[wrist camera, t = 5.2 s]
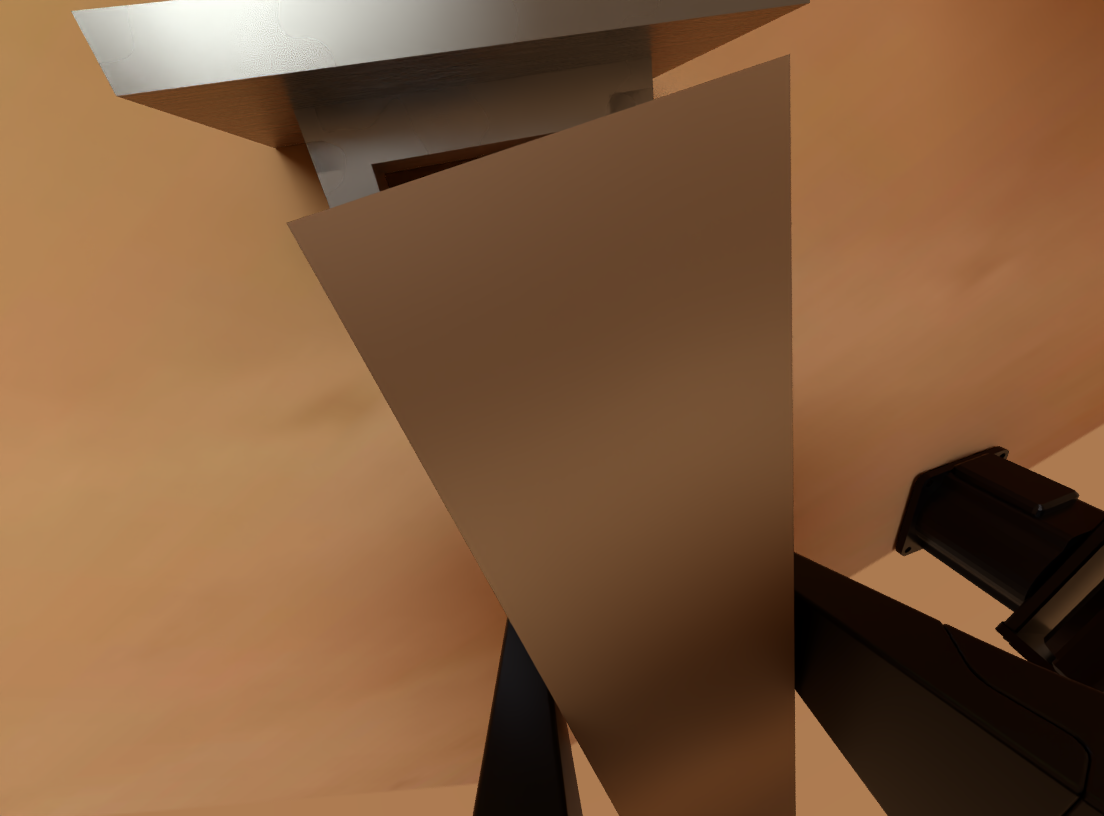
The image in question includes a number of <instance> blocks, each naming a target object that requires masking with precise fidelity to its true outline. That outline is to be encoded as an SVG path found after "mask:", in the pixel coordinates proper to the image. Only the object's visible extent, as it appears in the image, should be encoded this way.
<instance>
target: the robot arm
mask: <svg viewBox="0 0 1104 816" xmlns="http://www.w3.org/2000/svg"><path fill="white" fill-rule="evenodd" d="M1008 453H1009V451H1008V450H1007V449H1005V448H1002V447H1000V446H998V447H995V448H992V449H989V450H986V451H984V452H981V453H978V454H976V455H973V456H970V457H967V458H965V459H962V460H959V461H956V462H954V463H951V464H948V465H946V466H943V467H940V468H937V469H935V470H932V471H929V472H926V473H924V474H922V475H921V476H920V477H919V478H918V479H917V481H916V483H915V487H914V490H913V493H912V496H911V500H910V503H909V506H908V510H907V513H906V516H905V519H904V523H903V526H902V529H901V533H900V536H899V539H898V543H897V546H896V551H897V552H898V553H900V554H901V555H903V556H906V555H908V554H911V553H913V552H916V551H918V550H921V549H925V550H926V551H927V552H929V553H930V554H932V555H933V556H935V557H936V558H937V559H939V560H940V561H942V562H943V563H945V564H946V565H948V566H949V567H950V568H952V569H953V570H955V571H956V572H957V573H959V574H960V575H962V576H963V577H965V578H966V579H967V580H969V581H971V582H972V583H973V584H975V585H976V586H978V587H979V588H980V589H982V590H983V591H985V592H986V593H988V594H989V595H990V596H992V597H993V598H995V599H996V600H998V601H999V602H1000V603H1002V604H1003V605H1005V606H1006V607H1008V608H1009V609H1011V610H1012V611H1014V613H1013V614H1012V615H1011V616H1010V617H1009V618H1008V619H1007V620H1006V621H1005V622H1001V623H1000V624H999V625H998V626H997V627H996V628H995V629H996V630H997V632H999V633H1000V634H1001V635H1002V636H1003V638H1004V639H1005V640H1006V641H1008V642H1009V644H1010V645H1011V646H1012V647H1013V648H1014V649H1015V650H1016V651H1017V652H1018V653H1019V654H1021V655H1022V656H1023V657H1024V658H1025V659H1026V660H1027V661H1026V660H1024V659H1022V658H1019V657H1017V656H1015V655H1013V654H1010V653H1008V652H1006V651H1004V650H1002V649H999V648H997V647H995V646H993V645H991V644H988V643H986V642H984V641H981V640H979V639H977V638H975V637H973V636H971V635H969V634H967V633H965V632H962V631H960V630H958V629H956V628H954V627H952V626H950V625H947V624H944V625H943V624H942V623H941V622H940V621H939V620H937V619H934V618H932V617H930V616H928V615H926V614H924V613H922V612H920V611H918V610H916V609H913V608H911V607H909V606H907V605H905V604H903V603H901V602H899V601H897V600H894V599H892V598H890V597H888V596H886V595H884V594H882V593H880V592H877V591H875V590H873V589H871V588H869V587H867V586H865V585H863V584H861V583H858V582H856V581H854V580H852V579H850V578H848V577H846V576H844V575H842V574H839V573H837V572H835V571H833V570H831V569H829V568H827V567H825V566H823V565H820V564H818V563H816V562H814V561H812V560H810V559H808V558H806V557H804V556H801V555H799V554H797V553H795V552H794V669H795V690H796V691H797V692H798V694H799V695H800V697H801V698H802V699H803V701H804V702H805V704H806V705H807V706H808V708H809V709H810V710H811V712H812V713H813V714H814V716H815V717H816V718H817V720H818V721H819V723H820V724H821V725H822V727H823V728H824V729H825V731H826V732H827V734H828V735H829V736H830V738H831V739H832V740H833V742H834V743H835V744H836V746H837V747H838V749H839V750H840V751H841V753H842V754H843V755H844V757H845V758H846V759H847V761H848V762H849V764H850V765H851V766H852V768H853V769H854V770H855V772H856V773H857V774H858V776H859V777H860V779H861V780H862V781H863V782H864V784H865V785H866V786H867V788H868V789H869V791H870V792H871V794H872V795H873V796H874V797H875V799H876V800H877V802H878V803H879V804H880V806H881V807H882V808H883V810H884V811H885V813H886V814H887V815H888V816H1104V511H1102V510H1100V509H1098V508H1096V507H1094V506H1092V505H1089V504H1087V503H1085V502H1083V501H1081V500H1079V499H1078V497H1079V494H1078V493H1077V492H1076V491H1075V490H1073V489H1071V488H1069V487H1066V486H1064V485H1062V484H1060V483H1057V482H1055V481H1053V480H1051V479H1049V478H1046V477H1044V476H1042V475H1040V474H1037V473H1035V472H1033V471H1031V470H1029V469H1026V468H1024V467H1022V466H1020V465H1017V464H1015V463H1013V462H1011V461H1008V460H1006V459H1007V456H1008ZM473 816H583V815H582V809H581V803H580V798H579V792H578V786H577V780H576V774H575V769H574V763H573V757H572V751H571V745H570V739H569V734H568V728H567V723H566V720H565V718H564V716H563V715H562V713H561V711H560V709H559V707H558V706H557V704H556V702H555V700H554V698H553V697H552V695H551V693H550V691H549V690H548V688H547V686H546V684H545V682H544V681H543V679H542V677H541V675H540V674H539V672H538V670H537V668H536V666H535V665H534V663H533V661H532V659H531V658H530V656H529V654H528V652H527V650H526V649H525V647H524V645H523V643H522V641H521V640H520V638H519V636H518V634H517V633H516V631H515V629H514V627H513V625H512V624H511V622H510V620H509V618H508V617H507V622H506V628H505V633H504V639H503V645H502V650H501V656H500V662H499V668H498V673H497V679H496V685H495V691H494V696H493V702H492V708H491V714H490V719H489V725H488V731H487V737H486V742H485V748H484V754H483V760H482V765H481V771H480V777H479V783H478V788H477V794H476V800H475V806H474V811H473Z"/></svg>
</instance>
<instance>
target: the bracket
mask: <svg viewBox="0 0 1104 816" xmlns="http://www.w3.org/2000/svg"><path fill="white" fill-rule="evenodd" d="M808 3H810V0H174V1H164V2H155V3H145V4H135V5H126V6H116V7H106V8H97V9H87V10H77V11H71V12H72V13H73V15H74V17H75V19H76V21H77V23H78V25H79V27H80V29H81V30H82V32H83V34H84V36H85V38H86V40H87V42H88V44H89V46H90V47H91V49H92V51H93V53H94V55H95V57H96V59H97V61H98V62H99V64H100V66H101V68H102V70H103V72H104V74H105V76H106V78H107V79H108V81H109V83H110V85H111V87H112V89H113V91H114V93H115V95H116V96H118V97H121V98H124V99H127V100H130V101H133V102H136V103H139V104H142V105H145V106H148V107H151V108H154V109H157V110H160V111H164V112H167V113H170V114H173V115H176V116H179V117H182V118H185V119H188V120H191V121H194V122H197V123H200V124H203V125H206V126H209V127H212V128H215V129H218V130H221V131H225V132H228V133H231V134H234V135H237V136H240V137H243V138H246V139H249V140H252V141H255V142H258V143H261V144H264V145H267V146H270V147H273V148H277V147H283V146H290V145H296V144H302V143H306V145H307V148H308V151H309V153H310V156H311V159H312V161H313V164H314V167H315V169H316V172H317V175H318V177H319V180H320V183H321V185H322V188H323V191H324V193H325V196H326V199H327V201H328V204H329V207H330V208H333V207H336V206H339V205H342V204H345V203H348V202H351V201H354V200H357V199H360V198H363V197H365V196H368V195H371V194H374V193H377V192H380V191H383V190H386V189H389V186H388V183H387V180H386V176H385V173H391V172H397V171H402V170H408V169H413V168H419V167H425V166H430V165H436V164H442V163H447V162H453V161H458V160H464V159H470V158H475V157H481V156H487V155H491V154H494V153H497V152H500V151H503V150H506V149H509V148H512V147H514V146H517V145H520V144H523V143H526V142H529V141H532V140H535V139H538V138H541V137H544V136H547V135H550V134H553V133H556V132H559V131H562V130H565V129H568V128H571V127H574V126H577V125H580V124H583V123H586V122H589V121H592V120H595V119H598V118H601V117H604V116H607V115H610V114H613V113H616V112H619V111H622V110H625V109H628V108H631V107H634V106H637V105H640V104H643V103H646V102H649V101H652V100H653V80H652V79H653V78H655V77H657V76H659V75H661V74H663V73H665V72H667V71H669V70H671V69H674V68H676V67H678V66H680V65H682V64H684V63H686V62H688V61H690V60H692V59H694V58H696V57H698V56H700V55H703V54H705V53H707V52H709V51H711V50H713V49H715V48H717V47H719V46H721V45H723V44H725V43H727V42H729V41H732V40H734V39H736V38H738V37H740V36H742V35H744V34H746V33H748V32H750V31H752V30H754V29H756V28H758V27H761V26H763V25H765V24H767V23H769V22H771V21H773V20H775V19H777V18H779V17H781V16H783V15H785V14H787V13H790V12H792V11H794V10H796V9H798V8H800V7H802V6H804V5H806V4H808Z"/></svg>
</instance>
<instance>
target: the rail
mask: <svg viewBox="0 0 1104 816" xmlns="http://www.w3.org/2000/svg"><path fill="white" fill-rule="evenodd" d="M287 225H288V226H289V228H290V230H291V232H292V234H293V235H294V237H295V239H296V241H297V242H298V244H299V246H300V248H301V250H302V251H303V253H304V255H305V257H306V258H307V260H308V262H309V264H310V266H311V267H312V269H313V271H314V273H315V275H316V276H317V278H318V280H319V282H320V283H321V285H322V287H323V289H324V291H325V292H326V294H327V296H328V298H329V299H330V301H331V303H332V305H333V307H334V308H335V310H336V312H337V314H338V315H339V317H340V319H341V321H342V323H343V324H344V326H345V328H346V330H347V332H348V333H349V335H350V337H351V339H352V340H353V342H354V344H355V346H356V348H357V349H358V351H359V353H360V355H361V356H362V358H363V360H364V362H365V364H366V365H367V367H368V369H369V371H370V372H371V374H372V376H373V378H374V380H375V381H376V383H377V385H378V387H379V389H380V390H381V392H382V394H383V396H384V397H385V399H386V401H387V403H388V405H389V406H390V408H391V410H392V412H393V413H394V415H395V417H396V419H397V421H398V422H399V424H400V426H401V428H402V429H403V431H404V433H405V435H406V437H407V438H408V440H409V442H410V444H411V446H412V447H413V449H414V451H415V453H416V454H417V456H418V458H419V460H420V462H421V463H422V465H423V467H424V469H425V470H426V472H427V474H428V476H429V478H430V479H431V481H432V483H433V485H434V486H435V488H436V490H437V492H438V494H439V495H440V497H441V499H442V501H443V503H444V504H445V506H446V508H447V510H448V511H449V513H450V515H451V517H452V519H453V520H454V522H455V524H456V526H457V527H458V529H459V531H460V533H461V535H462V536H463V538H464V540H465V542H466V543H467V545H468V547H469V549H470V551H471V552H472V554H473V556H474V558H475V560H476V561H477V563H478V565H479V567H480V568H481V570H482V572H483V574H484V576H485V577H486V579H487V581H488V583H489V584H490V586H491V588H492V590H493V592H494V593H495V595H496V597H497V599H498V601H499V602H500V604H501V606H502V608H503V609H504V611H505V613H506V615H507V617H508V618H509V620H510V622H511V624H512V625H513V627H514V629H515V631H516V633H517V634H518V636H519V638H520V640H521V641H522V643H523V645H524V647H525V649H526V650H527V652H528V654H529V656H530V658H531V659H532V661H533V663H534V665H535V666H536V668H537V670H538V672H539V674H540V675H541V677H542V679H543V681H544V682H545V684H546V686H547V688H548V690H549V691H550V693H551V695H552V697H553V698H554V700H555V702H556V704H557V706H558V707H559V709H560V711H561V713H562V715H563V716H564V718H565V720H566V722H567V723H568V725H569V727H570V729H571V731H572V732H573V734H574V736H575V738H576V739H577V741H578V743H579V745H580V747H581V748H582V750H583V752H584V754H585V755H586V757H587V759H588V761H589V762H590V764H591V766H592V768H593V770H594V772H595V773H596V775H597V777H598V779H599V780H600V782H601V784H602V786H603V787H604V789H605V791H606V793H607V795H608V796H609V798H610V800H611V802H612V803H613V805H614V807H615V809H616V811H617V812H618V814H619V816H796V811H795V810H796V805H795V669H794V536H793V403H792V270H791V137H790V54H789V55H786V56H783V57H780V58H777V59H774V60H771V61H768V62H765V63H762V64H759V65H756V66H753V67H750V68H747V69H744V70H741V71H738V72H735V73H732V74H729V75H726V76H723V77H720V78H717V79H714V80H711V81H708V82H705V83H702V84H699V85H696V86H693V87H690V88H687V89H684V90H681V91H678V92H675V93H672V94H669V95H666V96H663V97H660V98H658V99H655V100H652V101H649V102H646V103H643V104H640V105H637V106H634V107H631V108H628V109H625V110H622V111H619V112H616V113H613V114H610V115H607V116H604V117H601V118H598V119H595V120H592V121H589V122H586V123H583V124H580V125H577V126H574V127H571V128H568V129H565V130H562V131H559V132H556V133H553V134H550V135H547V136H544V137H541V138H538V139H535V140H532V141H529V142H526V143H523V144H520V145H517V146H514V147H512V148H509V149H506V150H503V151H500V152H497V153H494V154H491V155H488V156H485V157H482V158H479V159H476V160H473V161H470V162H467V163H464V164H461V165H458V166H455V167H452V168H449V169H446V170H443V171H440V172H437V173H434V174H431V175H428V176H425V177H422V178H419V179H416V180H413V181H410V182H407V183H404V184H401V185H398V186H395V187H392V188H389V189H386V190H383V191H380V192H377V193H374V194H371V195H368V196H365V197H363V198H360V199H357V200H354V201H351V202H348V203H345V204H342V205H339V206H336V207H333V208H330V209H327V210H324V211H321V212H318V213H315V214H312V215H309V216H306V217H303V218H300V219H297V220H294V221H291V222H288V223H287Z"/></svg>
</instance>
